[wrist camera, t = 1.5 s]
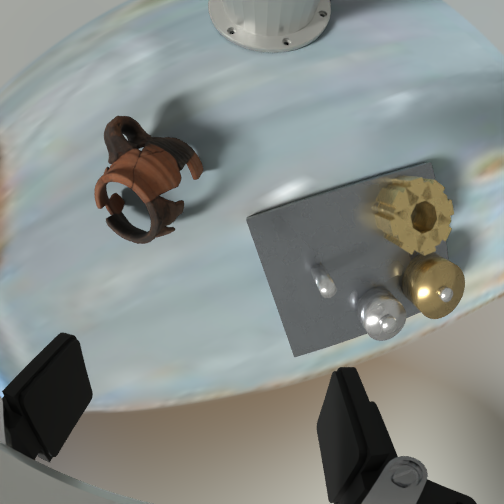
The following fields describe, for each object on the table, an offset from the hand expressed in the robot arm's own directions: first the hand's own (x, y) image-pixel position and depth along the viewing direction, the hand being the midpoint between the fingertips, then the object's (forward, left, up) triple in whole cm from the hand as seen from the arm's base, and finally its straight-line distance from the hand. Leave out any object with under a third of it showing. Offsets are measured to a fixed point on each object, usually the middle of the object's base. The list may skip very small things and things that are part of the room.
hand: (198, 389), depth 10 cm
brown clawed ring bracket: (+1, -11, -22) cm, 25 cm away
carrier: (-8, +10, -22) cm, 25 cm away
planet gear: (-14, +9, -20) cm, 26 cm away
